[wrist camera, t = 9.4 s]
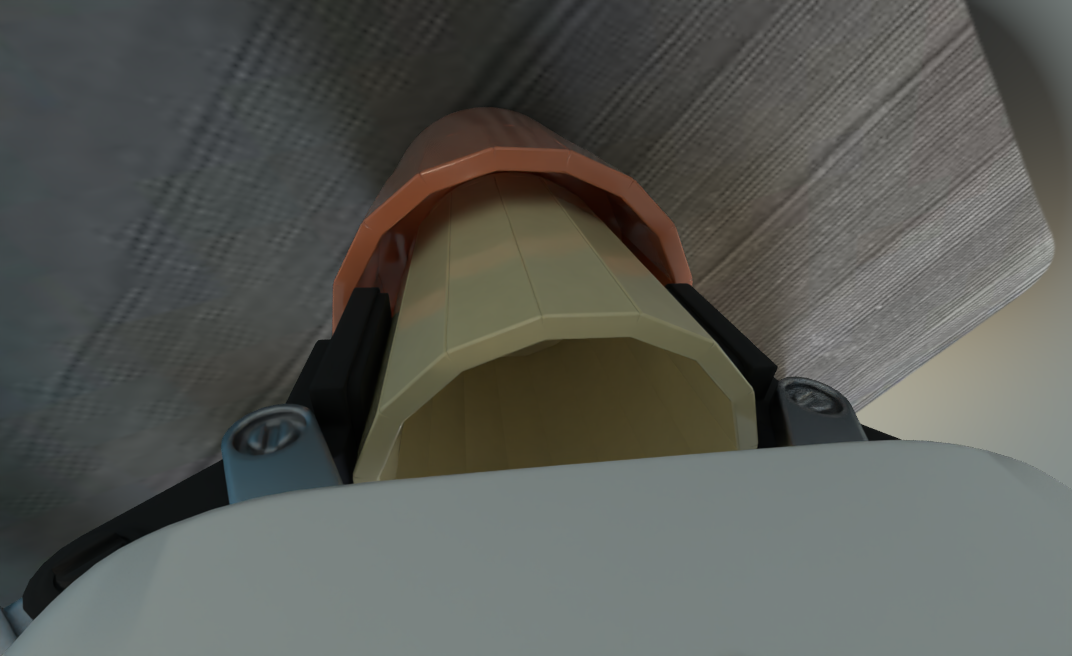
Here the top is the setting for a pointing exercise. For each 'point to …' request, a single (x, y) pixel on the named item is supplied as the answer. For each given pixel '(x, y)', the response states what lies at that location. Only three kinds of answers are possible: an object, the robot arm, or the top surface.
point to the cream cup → (540, 347)
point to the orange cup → (488, 148)
